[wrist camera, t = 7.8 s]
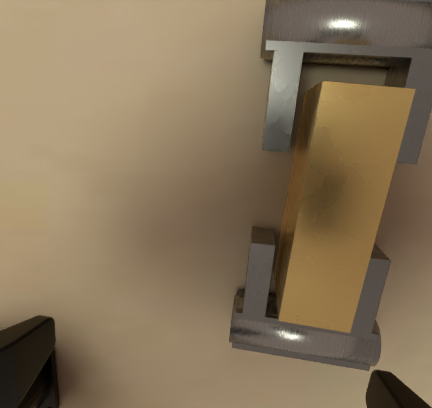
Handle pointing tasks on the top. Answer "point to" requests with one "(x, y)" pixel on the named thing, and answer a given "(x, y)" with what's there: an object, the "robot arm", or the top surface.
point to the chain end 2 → (300, 334)
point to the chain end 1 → (348, 56)
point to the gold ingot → (336, 199)
